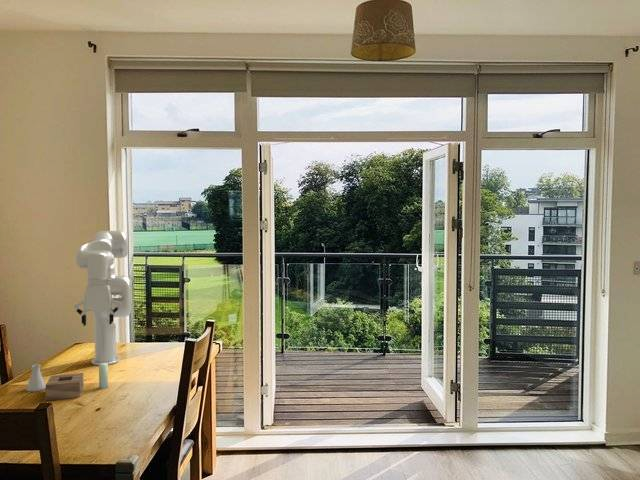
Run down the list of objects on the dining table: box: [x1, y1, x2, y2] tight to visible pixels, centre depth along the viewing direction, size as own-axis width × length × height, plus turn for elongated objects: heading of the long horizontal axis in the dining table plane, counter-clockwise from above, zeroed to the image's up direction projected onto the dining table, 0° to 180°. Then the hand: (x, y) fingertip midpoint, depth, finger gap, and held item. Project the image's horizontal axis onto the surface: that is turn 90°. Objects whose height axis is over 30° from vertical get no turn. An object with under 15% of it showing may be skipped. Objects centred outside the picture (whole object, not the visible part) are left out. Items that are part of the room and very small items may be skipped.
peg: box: [98, 363, 109, 390], centre depth 204 cm, size 3×3×10 cm
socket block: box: [45, 372, 84, 401], centre depth 197 cm, size 12×12×6 cm
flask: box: [25, 363, 47, 393], centre depth 201 cm, size 7×7×10 cm
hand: (97, 324), depth 197 cm, fingers open, 9 cm apart
